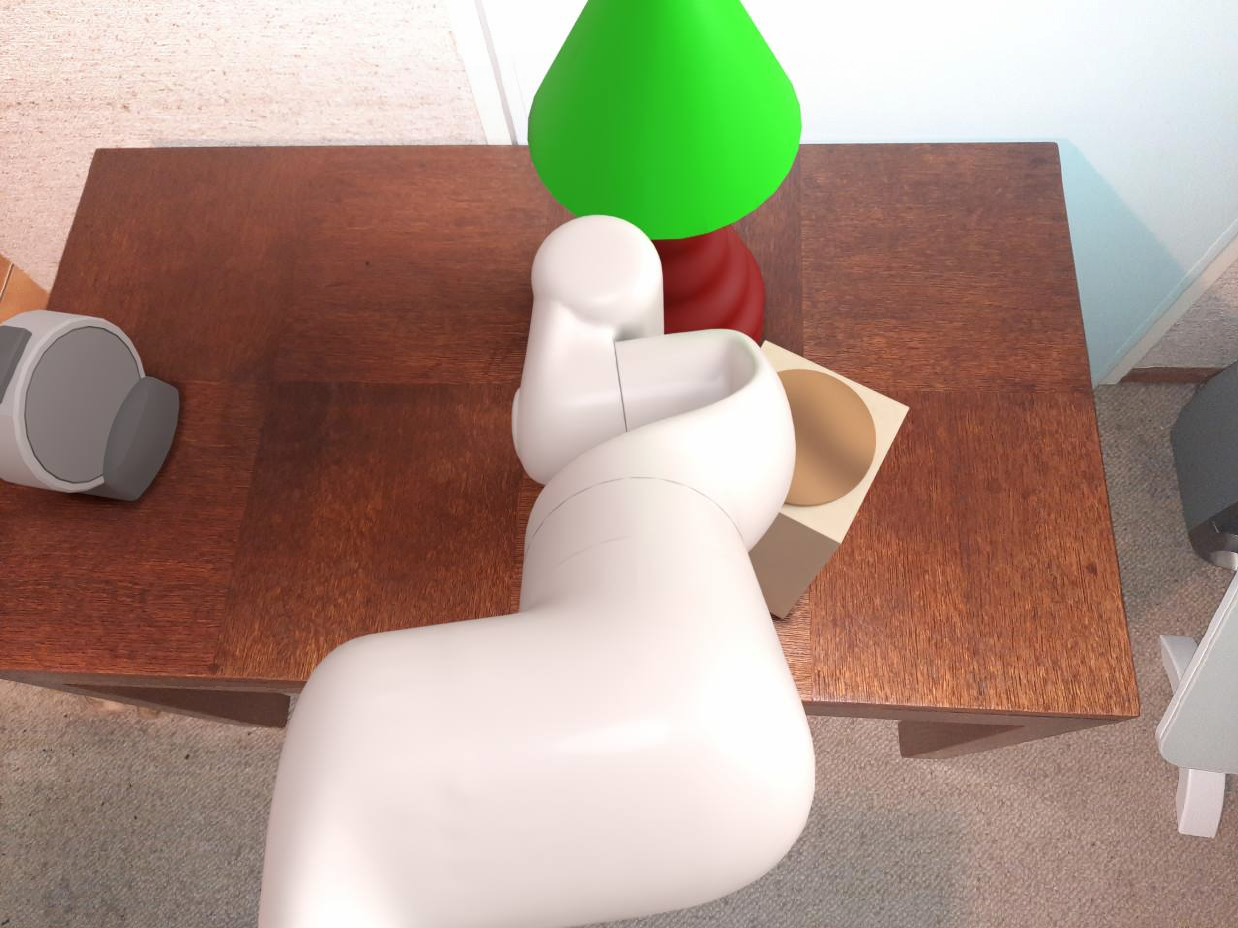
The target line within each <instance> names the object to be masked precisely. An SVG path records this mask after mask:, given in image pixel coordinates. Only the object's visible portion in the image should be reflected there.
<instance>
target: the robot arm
mask: <svg viewBox="0 0 1238 928" xmlns="http://www.w3.org/2000/svg"><path fill="white" fill-rule="evenodd" d="M530 282H531V283H530V284H531V290H532V295H533V301H532V308H531V309H532V310H531V318H530V325H529V331H528V339H527V345H526V352H525V358H524V362H523V370H522V375H521V380H520V387H519V388H517V390H516V392H515V393H514V396H513V401H512V406H511V435H512V441H513V447H514V450H515V453H516V456H517V457H518V459H519V460H520V462H521V465H522V467H523V469H524V471H525V473H526V474H527V476H529V478H530V479H532V481H535V482H536V483H538V484H541V485H544V487H543V488H542V489H541V491H540V492H539V494H538V496H537V498H536V500H535V501H534V504H533V507H532V509H531V511H530V514H529V517H528V521H527V525H526V528H525V529H526V530H525V536H524V550H523V562H522V563H523V564H522V576H521V585H520V596H519V605H518V612H516V613H515V612H514V613H510V614H504V615H497V616H490V617H482V618H475V619H467V620H460V621H453V622H446V623H445V622H444V623H439V624H431V625H425V626H417V627H410V628H403V629H397V630H389V631H382V632H376V633H370V634H366V635H365V634H364V635H361V636H358V637H354V638H351V639H349V640H348V641H345V642H344V643H341V644H339V645H337V646H336V647H335V648H334V649H332V650H331V651H330V652H329V653H328V654H327V655H326V656H325V657H324V658H323V659H322V660H321V661H320V662H319V663H318V664H317V665H316V667H314V669H313V670H312V672H311V674H310V675H309V677H308V679H307V681H306V683H305V684H304V686H303V688H302V690H301V692H300V694H299V695H298V699H297V701H296V704H295V706H294V710H293V713H292V716H291V717H290V721H289V723H288V726H287V730H286V734H285V737H284V739H283V744H282V748H281V752H280V756H279V761H278V765H277V772H276V776H275V781H274V787H273V792H272V797H271V804H270V810H269V815H268V816H269V817H268V822H267V829H266V838H265V846H264V847H265V849H264V857H263V867H262V877H261V887H260V888H261V889H260V897H259V905H258V906H259V907H258V916H257V917H258V919H257V928H577V927H583V926H584V927H585V926H590V925H597V924H599V925H600V924H604V923H611V922H612V923H613V922H620V921H626V920H633V919H639V918H640V919H641V918H644V917H649V916H655V915H660V914H664V913H670V912H675V911H679V910H685V909H689V908H693V907H697V906H701V905H704V904H708V903H711V902H714V901H717V900H719V899H721V898H724V897H726V896H730V895H732V894H734V893H736V892H737V891H740V890H741V889H744V888H745V887H747V886H748V885H750V884H752V883H754V882H756V881H757V880H759V879H761V878H762V877H763V876H766V874H768V872H770V871H771V870H773V869H774V868H775V867H776V866H777V865H778V864H779V863H780V862H781V861H782V859H783V858H784V857H785V856H786V855H787V854H788V853H789V852H790V850H791V849H792V847H793V846H794V845H795V843H796V842H797V840H798V839H799V837H800V836H801V835H802V833H803V831H804V829H805V827H806V824H807V822H808V819H809V815H810V811H811V808H812V805H813V801H814V796H815V793H816V754H815V748H814V742H813V741H814V740H813V736H812V733H811V730H810V726H809V722H808V718H807V715H806V712H805V708H804V706H803V702H802V699H801V697H800V694H799V691H798V688H797V685H796V683H795V680H794V677H793V674H792V671H791V668H790V667H789V664H788V661H787V657H786V655H785V652H784V649H783V647H782V643H781V641H780V639H779V635H778V632H777V630H776V627H775V624H774V622H773V619H772V616H771V613H770V612H769V610H768V607H767V605H766V602H765V600H764V597H763V594H762V591H761V589H760V586H759V583H758V580H757V577H756V575H755V572H754V569H753V566H752V564H751V561H750V558H749V555H748V552H749V551H750V550H751V549H752V548H753V547H754V546H755V545H756V544H757V542H758V541H759V540H760V539H761V538H762V536H763V535H764V534H765V533H766V531H767V530H768V528H769V527H770V526H771V524H772V523H773V521H774V520H775V518H776V516H777V515H778V513H779V511H780V510H781V507H782V505H783V503H784V501H785V499H786V497H787V494H788V492H789V489H790V485H791V482H792V477H793V472H794V467H795V457H796V442H795V430H794V425H793V419H792V414H791V409H790V405H789V402H788V399H787V396H786V392H785V389H784V387H783V385H782V382H781V380H780V378H779V376H778V374H777V373H776V371H775V369H774V367H773V366H772V364H771V363H770V361H769V360H768V358H767V357H766V355H765V354H764V352H763V351H762V350H761V346H759V343H758V344H757V343H756V342H755V341H754V340H752V339H751V338H750V337H748V336H747V335H745V334H743V333H741V332H738V331H735V330H730V329H707V330H700V331H692V332H682V333H673V334H666V335H664V310H663V275H662V267H661V261H660V258H659V255H658V253H657V251H656V249H655V247H654V245H653V243H652V242H651V241H650V239H649V238H648V237H647V236H646V235H645V234H644V233H643V232H642V231H641V230H640V229H639V228H638V227H636V226H635V225H633V224H631V223H629V222H628V221H626V220H623V219H620V218H617V217H613V216H606V215H590V216H583V217H580V218H579V217H576V218H573V219H571V220H569V221H567V222H565V223H562V224H561V225H560V226H558V227H556V228H555V229H554V230H552V231H551V233H549V234H548V235H547V236H546V237H545V238H544V240H543V242H542V243H541V244H540V246H539V247H538V250H537V252H536V254H535V256H534V258H533V262H532V267H531V274H530Z"/></svg>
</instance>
